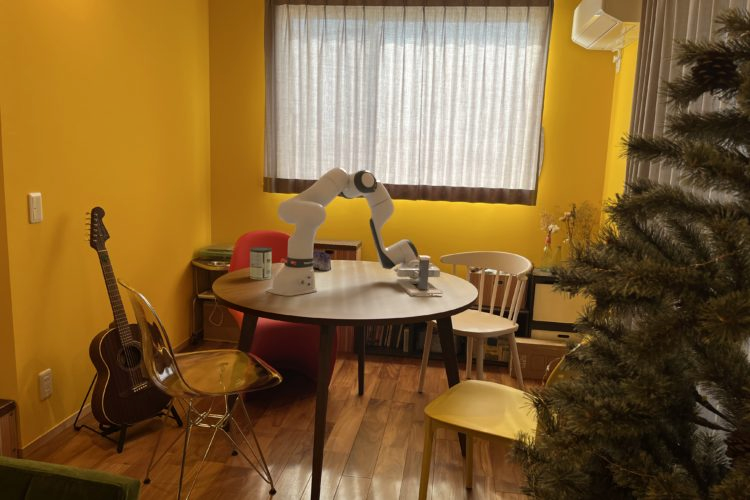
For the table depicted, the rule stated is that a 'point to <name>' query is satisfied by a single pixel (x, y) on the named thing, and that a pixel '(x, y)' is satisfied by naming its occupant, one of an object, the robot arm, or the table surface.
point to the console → (412, 290)
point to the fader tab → (423, 272)
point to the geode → (321, 261)
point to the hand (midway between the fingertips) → (422, 275)
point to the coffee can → (260, 263)
